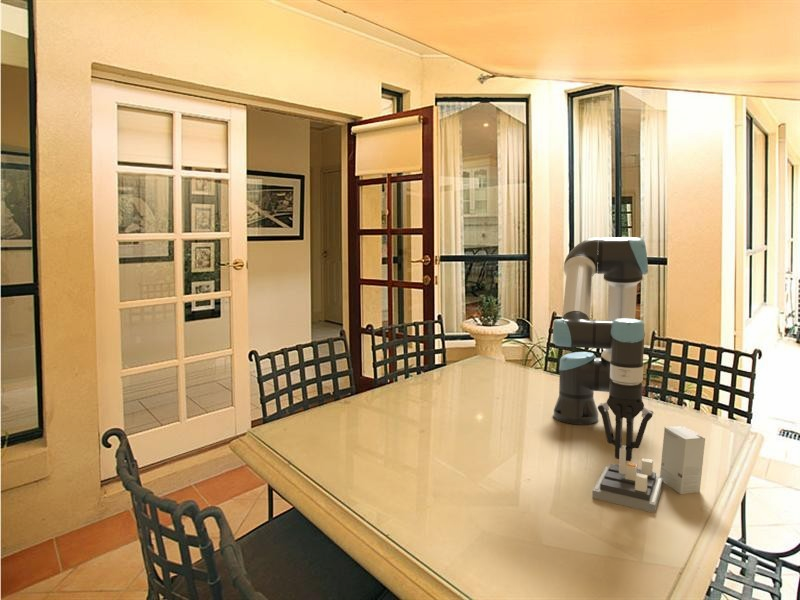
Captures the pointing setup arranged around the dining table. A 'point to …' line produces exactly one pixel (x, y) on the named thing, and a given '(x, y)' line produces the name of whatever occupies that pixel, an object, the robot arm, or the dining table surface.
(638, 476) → the block
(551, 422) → the dining table surface
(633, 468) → the breaker mid
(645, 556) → the dining table surface
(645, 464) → the block
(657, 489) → the panel
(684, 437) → the skincare box
